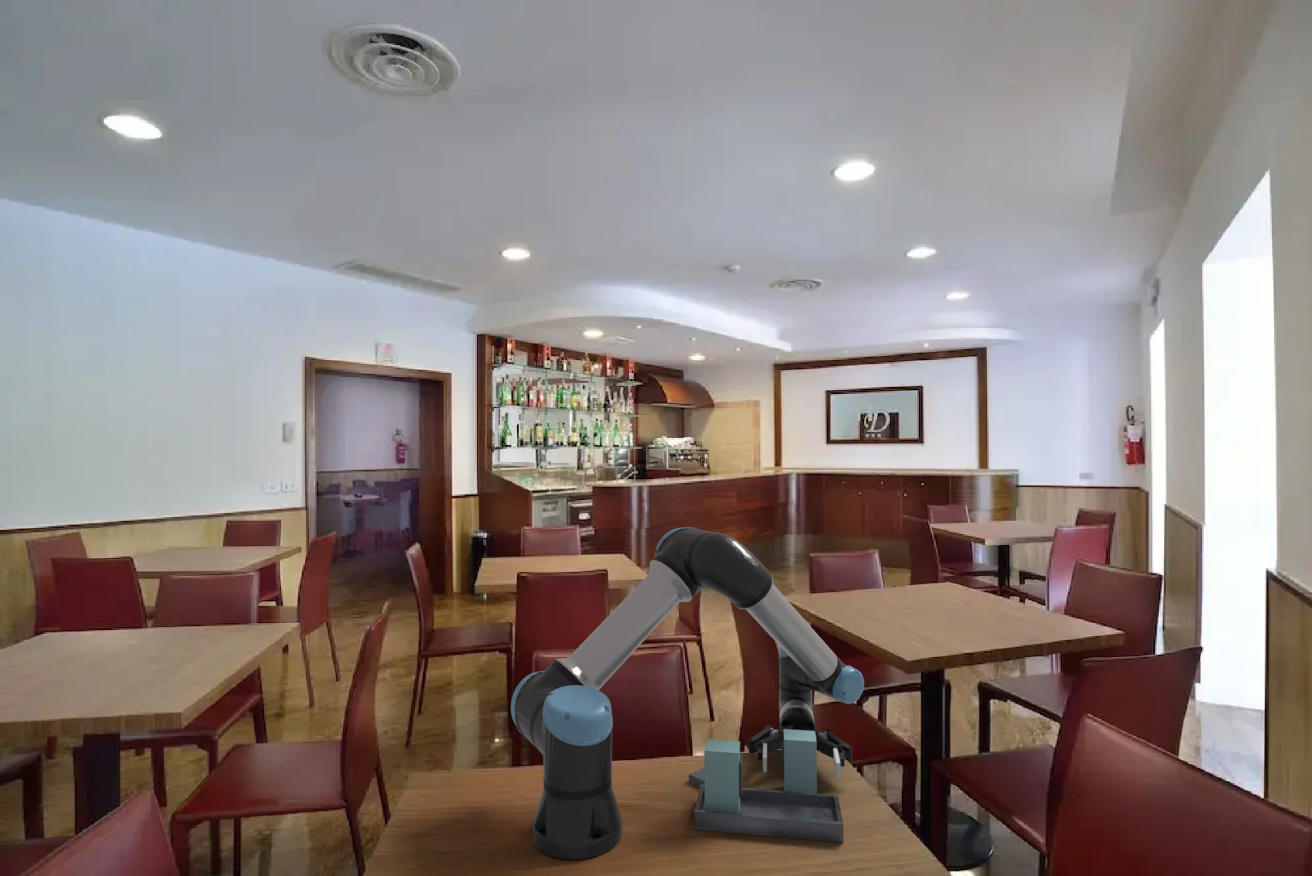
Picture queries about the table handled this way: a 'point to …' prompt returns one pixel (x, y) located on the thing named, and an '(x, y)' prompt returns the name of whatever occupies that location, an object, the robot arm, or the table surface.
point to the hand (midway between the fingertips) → (801, 767)
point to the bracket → (697, 777)
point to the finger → (799, 761)
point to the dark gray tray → (776, 815)
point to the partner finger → (723, 775)
